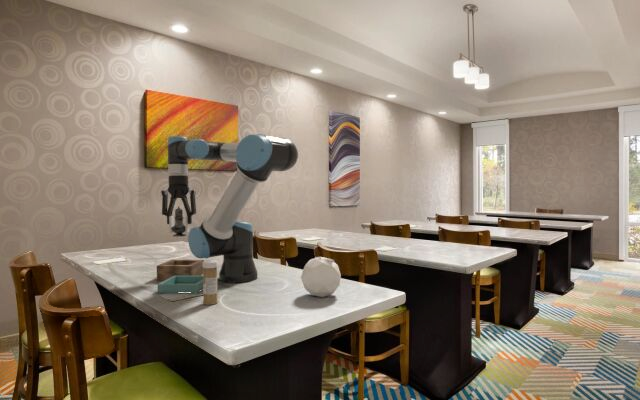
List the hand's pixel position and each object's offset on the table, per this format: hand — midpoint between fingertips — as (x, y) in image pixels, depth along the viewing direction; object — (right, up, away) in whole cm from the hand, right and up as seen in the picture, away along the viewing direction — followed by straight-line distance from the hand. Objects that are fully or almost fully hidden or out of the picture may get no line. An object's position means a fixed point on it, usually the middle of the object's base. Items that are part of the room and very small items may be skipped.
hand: (179, 232), depth 165 cm
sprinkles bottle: (+22, -20, -36) cm, 47 cm away
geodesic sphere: (+57, -19, -27) cm, 66 cm away
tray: (+8, -19, -17) cm, 27 cm away
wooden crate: (0, -19, +1) cm, 19 cm away
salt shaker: (0, -2, 0) cm, 2 cm away
